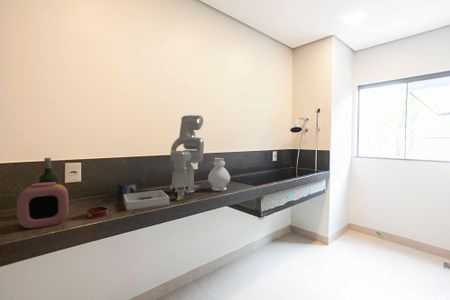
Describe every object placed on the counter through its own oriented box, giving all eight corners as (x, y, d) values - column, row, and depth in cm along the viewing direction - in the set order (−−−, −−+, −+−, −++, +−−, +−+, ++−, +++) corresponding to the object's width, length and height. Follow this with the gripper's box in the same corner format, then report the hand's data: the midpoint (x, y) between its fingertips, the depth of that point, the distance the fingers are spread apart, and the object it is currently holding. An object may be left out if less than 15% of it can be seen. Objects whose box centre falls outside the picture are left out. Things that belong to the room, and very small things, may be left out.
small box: (120, 200, 146) (119, 184, 146) (117, 198, 151) (117, 183, 151) (136, 197, 153) (136, 182, 152) (133, 195, 158) (133, 181, 157)
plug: (182, 197, 154) (182, 187, 153) (184, 199, 150) (184, 189, 149) (175, 198, 151) (175, 188, 151) (177, 200, 148) (177, 189, 147)
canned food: (90, 222, 121) (89, 204, 124) (110, 218, 124) (109, 200, 128) (84, 219, 111) (83, 200, 114) (106, 215, 114) (105, 196, 118)
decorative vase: (220, 192, 168) (221, 159, 167) (203, 189, 179) (203, 158, 178) (234, 188, 183) (234, 158, 181) (217, 185, 193) (217, 156, 192)
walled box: (161, 197, 154) (161, 190, 154) (169, 205, 137) (169, 197, 137) (123, 201, 143) (123, 194, 142) (127, 211, 125) (126, 202, 125)
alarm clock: (17, 232, 97) (15, 188, 96) (21, 224, 106) (19, 183, 105) (69, 222, 108) (68, 183, 107) (68, 216, 117) (67, 179, 116)
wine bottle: (56, 209, 127) (54, 157, 125) (60, 212, 122) (58, 158, 120) (38, 213, 121) (36, 158, 119) (42, 216, 116) (40, 159, 114)
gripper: (190, 168, 157) (190, 194, 158) (165, 170, 149) (166, 197, 150) (194, 170, 150) (193, 197, 151) (169, 172, 142) (169, 200, 143)
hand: (180, 197), depth 151 cm, fingers closed on plug, 4 cm apart
